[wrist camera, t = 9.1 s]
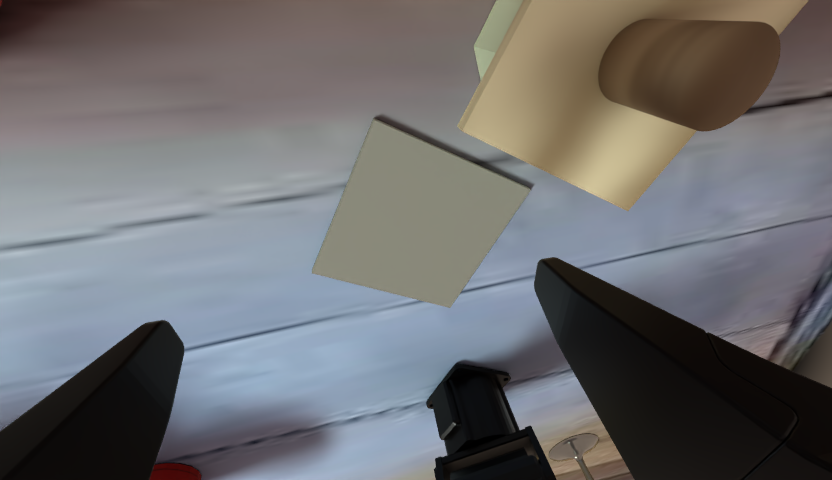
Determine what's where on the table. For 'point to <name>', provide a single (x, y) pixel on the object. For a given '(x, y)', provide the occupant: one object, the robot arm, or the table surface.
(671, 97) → the lid
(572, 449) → the wine glass
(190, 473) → the plastic cup
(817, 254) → the table surface
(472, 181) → the mat
